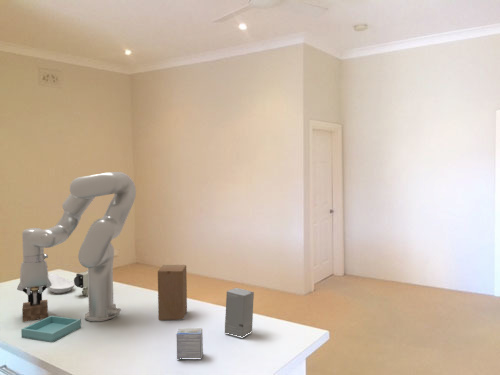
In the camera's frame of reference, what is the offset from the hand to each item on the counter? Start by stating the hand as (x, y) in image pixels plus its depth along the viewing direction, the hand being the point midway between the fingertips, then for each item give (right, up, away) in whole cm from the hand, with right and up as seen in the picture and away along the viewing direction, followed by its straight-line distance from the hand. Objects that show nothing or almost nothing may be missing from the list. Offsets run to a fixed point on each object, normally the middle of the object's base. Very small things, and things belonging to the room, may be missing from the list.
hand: (35, 302), depth 168 cm
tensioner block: (0, -6, 0) cm, 6 cm away
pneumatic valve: (+10, -4, +28) cm, 31 cm away
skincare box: (+84, -6, -19) cm, 87 cm away
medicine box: (+69, -7, -37) cm, 79 cm away
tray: (+15, -6, -16) cm, 23 cm away
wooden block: (+57, -5, 0) cm, 57 cm away
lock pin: (0, -6, 0) cm, 6 cm away
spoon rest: (-9, -4, +37) cm, 39 cm away
